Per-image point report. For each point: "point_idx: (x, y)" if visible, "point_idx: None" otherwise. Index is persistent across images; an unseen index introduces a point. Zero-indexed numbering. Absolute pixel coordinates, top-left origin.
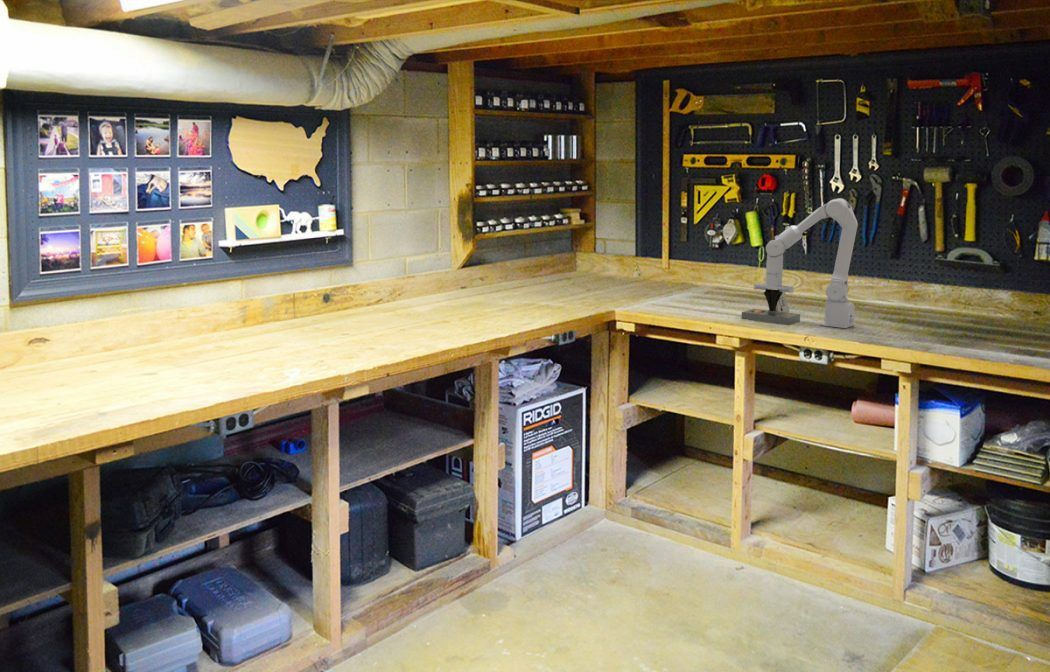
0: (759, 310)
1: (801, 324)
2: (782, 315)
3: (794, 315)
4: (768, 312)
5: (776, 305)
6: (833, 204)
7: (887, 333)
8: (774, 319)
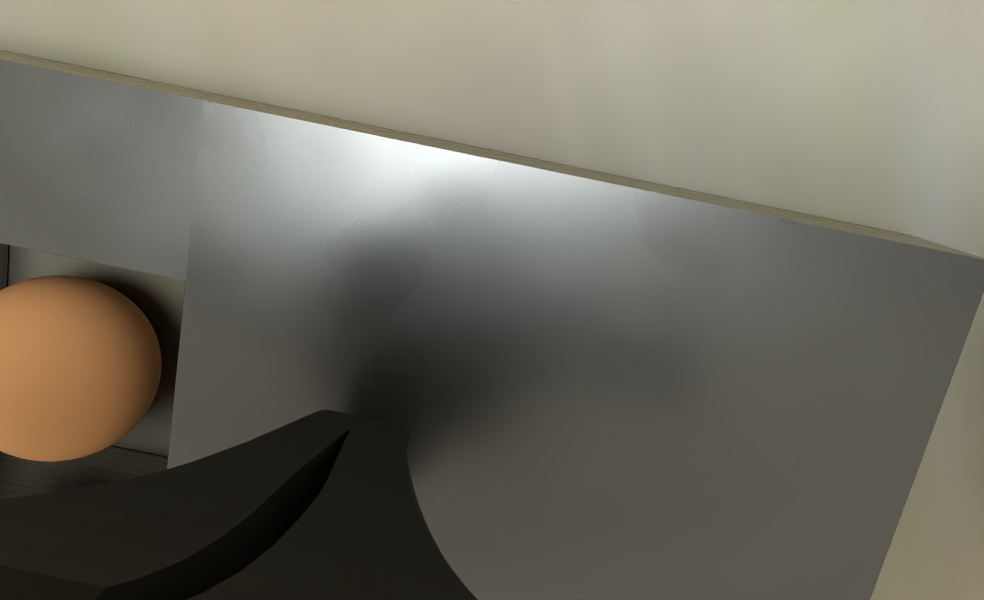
0: (53, 420)
1: (972, 564)
2: None
3: (879, 501)
4: (267, 395)
5: (407, 471)
6: None
7: None
8: None
